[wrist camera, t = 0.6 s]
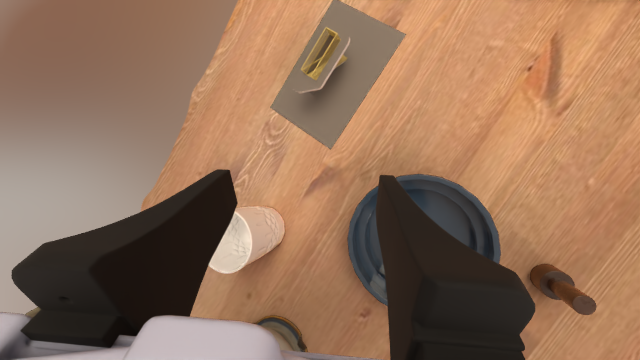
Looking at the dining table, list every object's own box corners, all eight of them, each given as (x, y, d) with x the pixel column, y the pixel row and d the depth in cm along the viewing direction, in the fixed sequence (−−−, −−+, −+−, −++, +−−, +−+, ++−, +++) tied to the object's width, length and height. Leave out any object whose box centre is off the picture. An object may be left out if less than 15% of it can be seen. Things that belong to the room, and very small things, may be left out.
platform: (406, 34, 36) (404, 3, 30) (330, 149, 39) (315, 143, 33) (334, -2, 39) (319, -37, 33) (270, 107, 43) (245, 94, 36)
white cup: (267, 192, 43) (226, 195, 33) (298, 232, 41) (264, 247, 31) (235, 223, 44) (187, 235, 35) (263, 263, 43) (221, 286, 33)
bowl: (519, 258, 32) (537, 272, 27) (402, 321, 36) (401, 342, 31) (432, 150, 35) (434, 145, 30) (334, 219, 39) (323, 224, 34)
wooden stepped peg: (568, 282, 30) (615, 312, 23) (542, 295, 31) (579, 328, 24) (549, 259, 31) (589, 281, 24) (523, 272, 32) (555, 298, 25)
